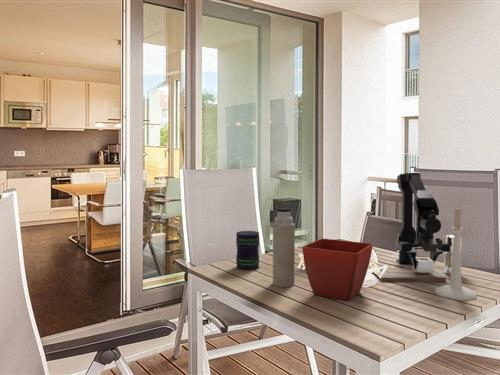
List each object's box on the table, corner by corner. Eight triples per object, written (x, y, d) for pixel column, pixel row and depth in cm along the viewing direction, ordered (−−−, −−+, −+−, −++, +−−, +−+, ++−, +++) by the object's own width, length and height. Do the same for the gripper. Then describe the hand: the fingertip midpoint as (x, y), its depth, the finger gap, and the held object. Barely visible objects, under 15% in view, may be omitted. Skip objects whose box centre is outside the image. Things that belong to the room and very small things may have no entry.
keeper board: (372, 271, 180) (372, 255, 179) (431, 272, 179) (431, 255, 178) (381, 281, 166) (381, 263, 165) (445, 281, 165) (446, 263, 165)
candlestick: (478, 292, 152) (481, 206, 150) (473, 302, 141) (476, 209, 139) (439, 286, 159) (441, 204, 157) (431, 295, 148) (433, 207, 146)
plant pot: (372, 290, 155) (373, 243, 153) (356, 306, 138) (357, 253, 137) (321, 282, 164) (322, 238, 163) (300, 296, 148) (301, 246, 147)
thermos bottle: (281, 279, 168) (282, 206, 166) (298, 283, 163) (299, 208, 161) (268, 283, 162) (268, 208, 161) (285, 288, 157) (285, 210, 155)
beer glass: (457, 270, 182) (458, 234, 181) (463, 274, 175) (464, 237, 174) (439, 270, 183) (440, 234, 182) (445, 274, 176) (446, 237, 175)
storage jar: (231, 267, 187) (231, 232, 186) (248, 263, 194) (248, 230, 193) (247, 271, 180) (247, 235, 179) (264, 267, 187) (264, 232, 186)
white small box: (412, 268, 175) (412, 257, 175) (427, 268, 175) (428, 257, 175) (418, 272, 169) (418, 261, 169) (433, 272, 169) (434, 261, 169)
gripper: (406, 232, 163) (405, 273, 164) (457, 232, 163) (456, 274, 164) (397, 227, 174) (396, 266, 175) (445, 227, 174) (443, 266, 175)
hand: (423, 268), depth 172 cm, fingers closed on white small box, 6 cm apart
